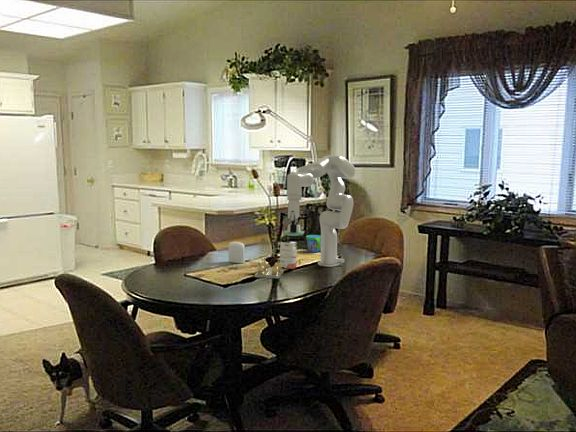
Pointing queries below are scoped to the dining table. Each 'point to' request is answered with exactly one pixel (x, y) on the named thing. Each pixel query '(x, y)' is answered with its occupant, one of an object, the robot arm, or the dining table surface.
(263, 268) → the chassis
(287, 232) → the circuit board
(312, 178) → the robot arm
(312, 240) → the snack cup
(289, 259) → the ink cartridge box
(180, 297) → the dining table surface
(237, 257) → the photo printer
